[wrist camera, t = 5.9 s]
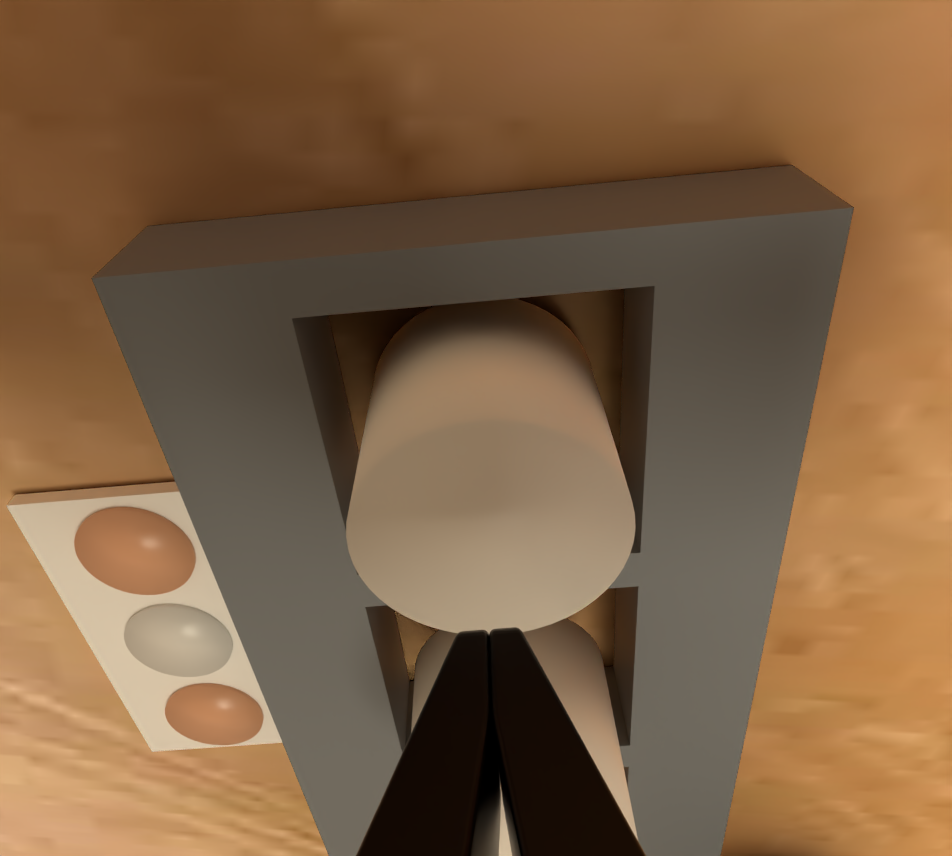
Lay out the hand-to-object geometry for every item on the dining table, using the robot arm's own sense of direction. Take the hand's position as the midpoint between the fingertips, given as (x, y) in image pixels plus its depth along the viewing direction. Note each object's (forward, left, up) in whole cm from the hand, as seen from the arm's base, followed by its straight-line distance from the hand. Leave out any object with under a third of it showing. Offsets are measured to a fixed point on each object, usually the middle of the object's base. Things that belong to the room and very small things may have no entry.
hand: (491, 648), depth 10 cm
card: (-7, +9, -7) cm, 13 cm away
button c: (0, 0, -7) cm, 7 cm away
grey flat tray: (-7, 0, -7) cm, 10 cm away
